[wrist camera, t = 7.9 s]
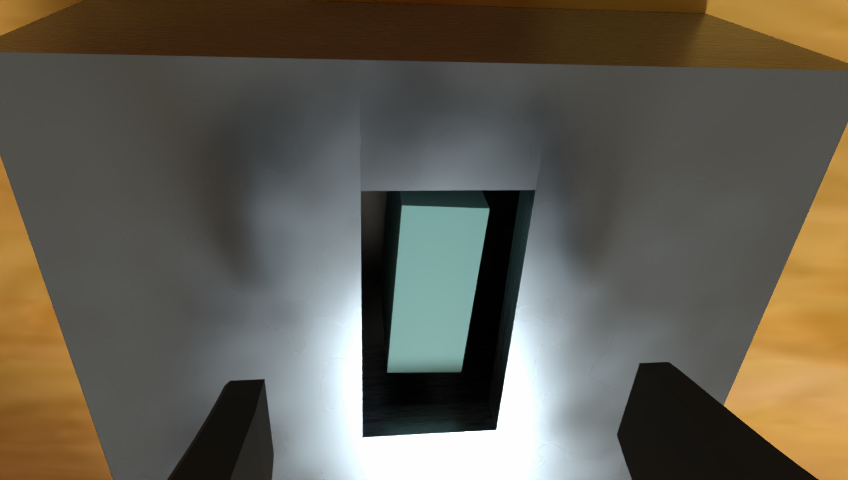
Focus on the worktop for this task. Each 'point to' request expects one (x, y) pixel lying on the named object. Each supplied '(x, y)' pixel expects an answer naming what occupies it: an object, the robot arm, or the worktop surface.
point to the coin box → (366, 205)
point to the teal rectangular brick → (430, 276)
